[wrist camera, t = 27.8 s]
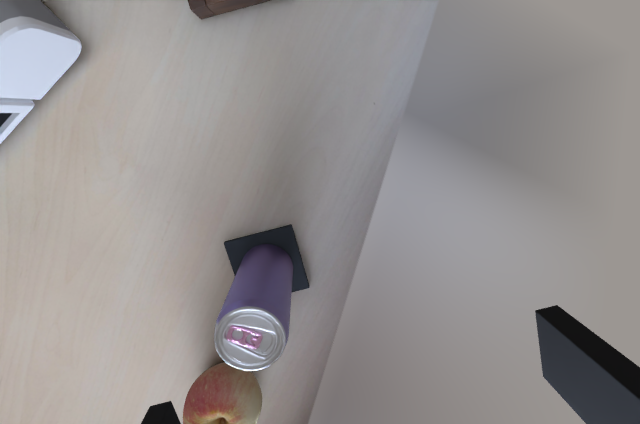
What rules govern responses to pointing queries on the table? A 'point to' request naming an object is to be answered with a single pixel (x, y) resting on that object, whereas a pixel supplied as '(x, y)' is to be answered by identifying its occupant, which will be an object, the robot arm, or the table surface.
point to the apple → (223, 397)
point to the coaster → (276, 237)
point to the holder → (218, 6)
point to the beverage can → (256, 310)
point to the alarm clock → (30, 57)
